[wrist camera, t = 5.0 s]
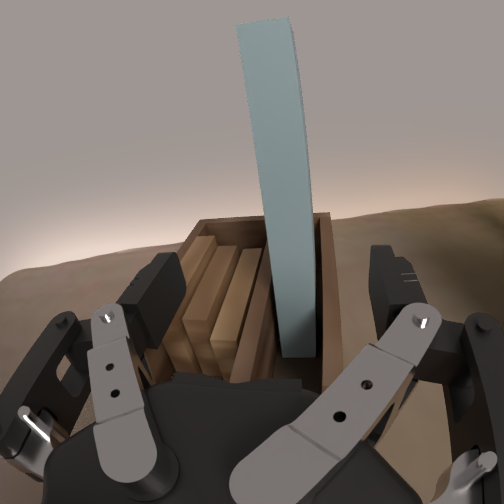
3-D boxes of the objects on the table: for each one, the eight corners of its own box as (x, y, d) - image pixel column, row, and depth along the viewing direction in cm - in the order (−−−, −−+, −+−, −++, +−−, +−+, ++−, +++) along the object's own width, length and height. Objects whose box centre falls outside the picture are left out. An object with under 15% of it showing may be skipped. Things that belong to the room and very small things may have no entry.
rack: (141, 416, 23) (104, 365, 19) (211, 266, 42) (199, 219, 39) (335, 436, 19) (343, 385, 16) (330, 263, 39) (329, 212, 35)
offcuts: (177, 381, 26) (146, 316, 22) (213, 293, 37) (198, 234, 33) (248, 388, 25) (230, 320, 21) (268, 293, 36) (259, 230, 32)
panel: (282, 357, 27) (235, 24, 14) (287, 313, 32) (253, 37, 19) (315, 357, 26) (288, 17, 14) (316, 313, 31) (293, 32, 19)
